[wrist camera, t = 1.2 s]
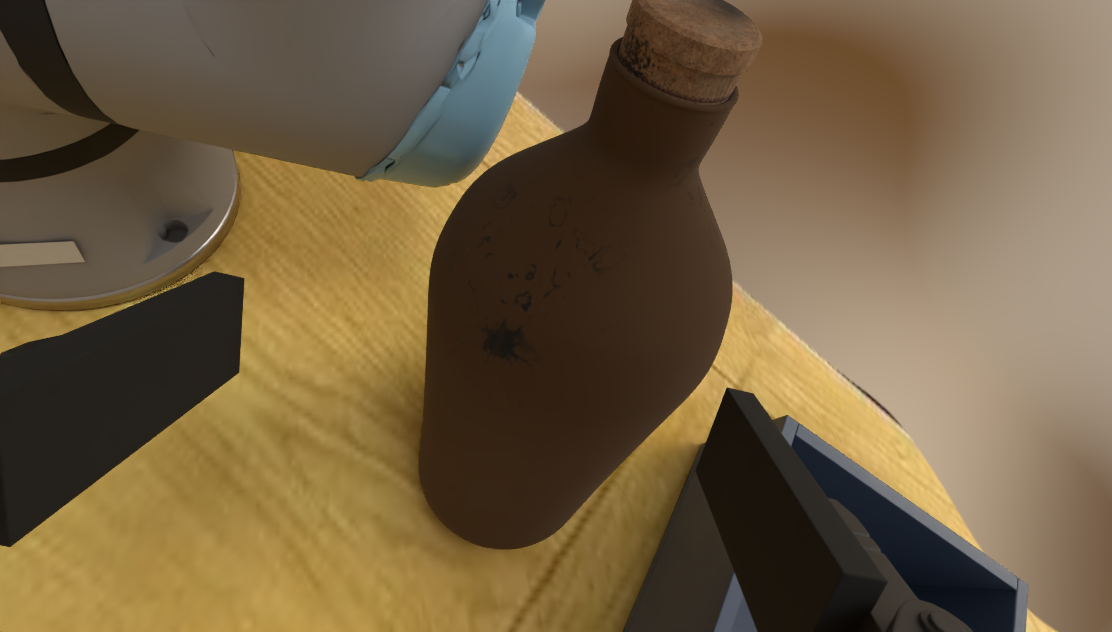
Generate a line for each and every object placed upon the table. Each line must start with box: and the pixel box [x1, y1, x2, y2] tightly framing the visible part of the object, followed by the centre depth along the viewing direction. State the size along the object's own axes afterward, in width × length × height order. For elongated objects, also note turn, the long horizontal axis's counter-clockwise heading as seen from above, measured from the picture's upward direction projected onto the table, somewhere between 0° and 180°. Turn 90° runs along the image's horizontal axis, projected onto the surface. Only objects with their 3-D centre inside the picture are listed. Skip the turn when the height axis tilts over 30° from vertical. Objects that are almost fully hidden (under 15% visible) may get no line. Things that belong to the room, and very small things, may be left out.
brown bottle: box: [419, 0, 762, 549], centre depth 22 cm, size 11×11×25 cm
